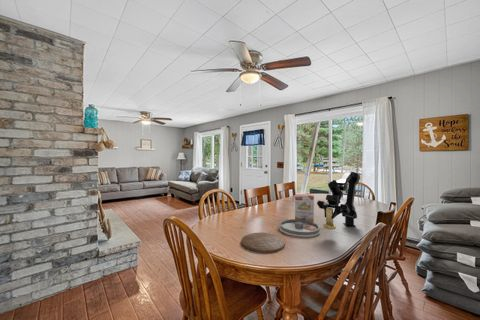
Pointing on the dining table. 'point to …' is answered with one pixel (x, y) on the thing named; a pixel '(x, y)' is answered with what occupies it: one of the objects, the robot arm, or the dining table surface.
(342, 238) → the dining table surface
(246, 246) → the trivet
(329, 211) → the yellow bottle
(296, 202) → the cracker box
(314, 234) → the round grey tray
